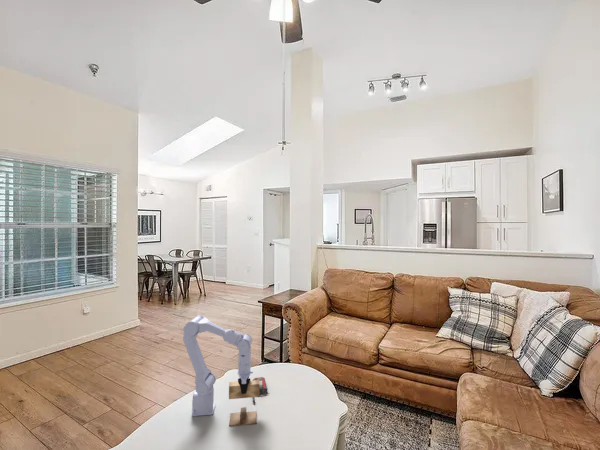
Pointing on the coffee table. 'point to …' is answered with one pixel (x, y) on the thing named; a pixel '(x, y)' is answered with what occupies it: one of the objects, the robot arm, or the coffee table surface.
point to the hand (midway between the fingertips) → (244, 390)
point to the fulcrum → (243, 418)
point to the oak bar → (251, 392)
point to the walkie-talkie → (261, 386)
